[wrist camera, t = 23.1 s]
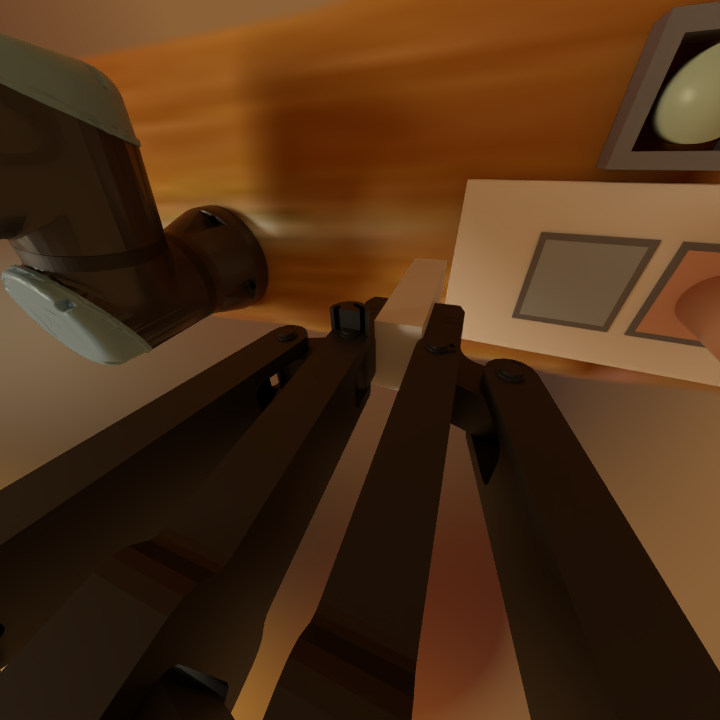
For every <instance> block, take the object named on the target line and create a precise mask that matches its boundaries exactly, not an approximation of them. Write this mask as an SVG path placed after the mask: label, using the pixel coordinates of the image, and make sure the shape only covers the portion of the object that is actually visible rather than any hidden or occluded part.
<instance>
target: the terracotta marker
mask: <svg viewBox="0 0 720 720" xmlns="http://www.w3.org/2000/svg"><path fill="white" fill-rule="evenodd" d="M675 315H676V317H677V318H678V320H679V321H680V322H681V323H682V324H683V325H684V326H685V327H686V328H687V329H688V330H689V331H690V332H691V333H692V334H693V335H694V336H695V337H696V338H697V339H698V340H699V341H700V342H701V343H702V344H703V345H704V346H705V347H706V348H707V349H708V350H709V351H710V352H711V354H712V355H713V356H714V357H715V358H716V359H717V360H718V361H719V362H720V275H719V276H715V277H711V278H708V279H705V280H703V281H701V282H699V283H697V284H695V285H693V286H692V287H690V288H689V289H688V290H686V291H685V292H684V293H683V294H682V295H681V296H680V298H679V299H678V301H677V303H676V305H675Z"/></svg>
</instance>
